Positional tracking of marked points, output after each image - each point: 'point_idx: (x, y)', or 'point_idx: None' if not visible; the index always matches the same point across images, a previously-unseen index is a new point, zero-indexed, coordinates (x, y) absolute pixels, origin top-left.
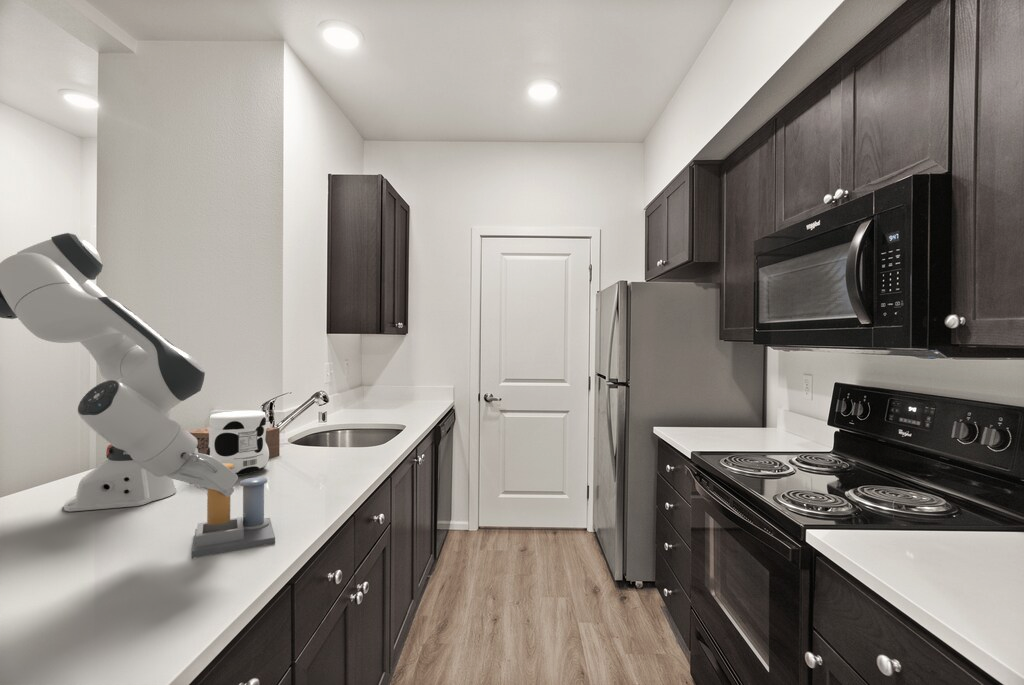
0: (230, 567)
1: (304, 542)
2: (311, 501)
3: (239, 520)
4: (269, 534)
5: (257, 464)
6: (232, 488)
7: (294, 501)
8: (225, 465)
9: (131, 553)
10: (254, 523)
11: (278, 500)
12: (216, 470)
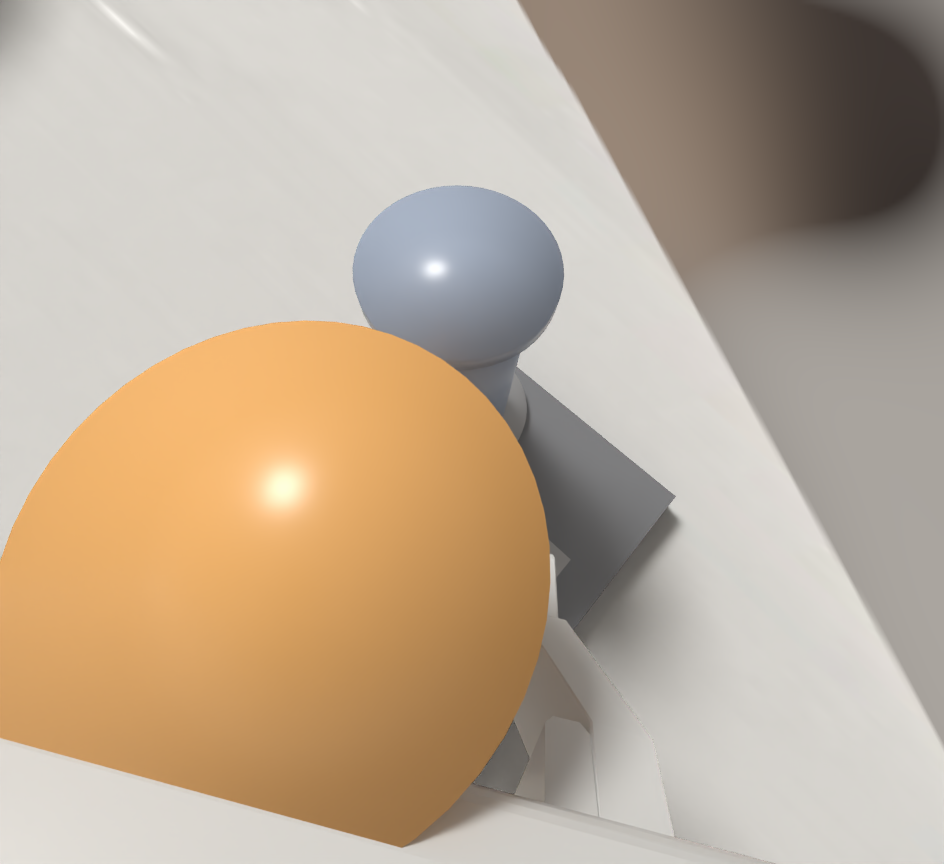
0: (718, 800)
1: (764, 454)
2: (429, 111)
3: None
4: (622, 476)
5: None
6: (553, 570)
7: (363, 125)
8: (344, 453)
9: None
10: None
11: (289, 130)
12: (476, 851)
